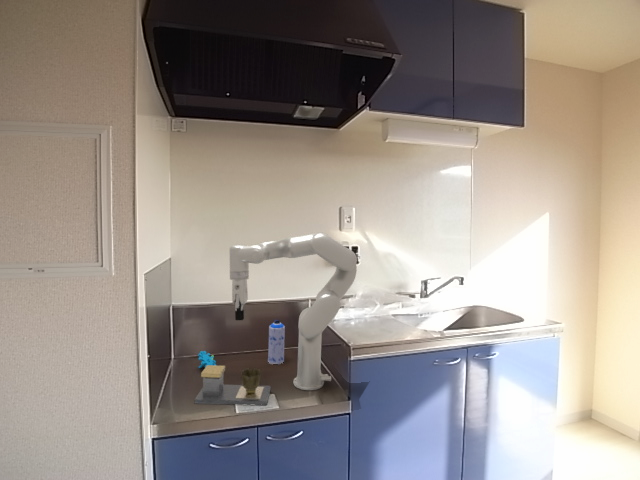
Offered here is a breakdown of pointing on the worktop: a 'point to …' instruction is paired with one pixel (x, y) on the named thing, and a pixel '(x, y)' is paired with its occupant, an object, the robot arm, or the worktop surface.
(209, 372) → the plate
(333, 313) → the robot arm
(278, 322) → the aerosol can
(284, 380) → the worktop surface
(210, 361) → the gear
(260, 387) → the base
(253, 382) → the dark brown rounded piece
